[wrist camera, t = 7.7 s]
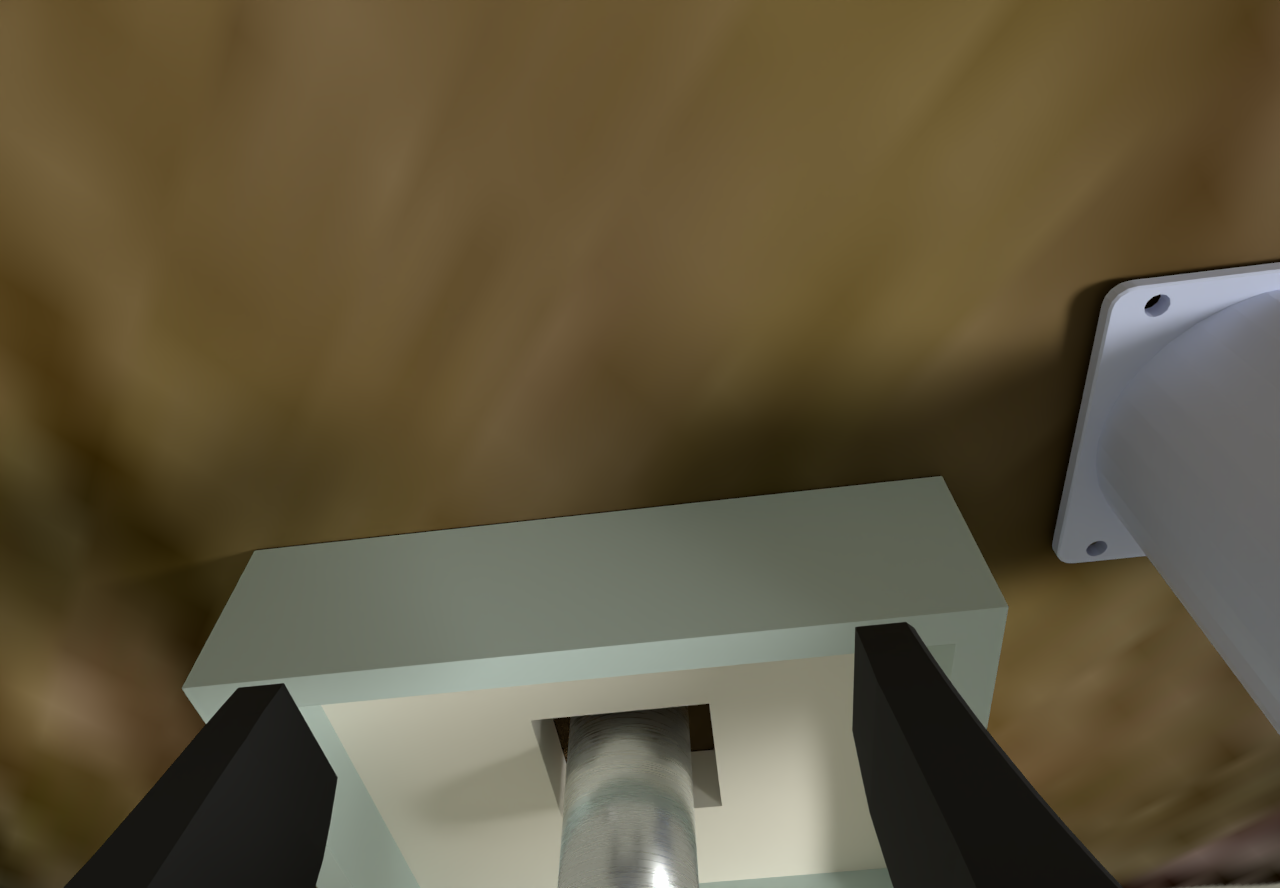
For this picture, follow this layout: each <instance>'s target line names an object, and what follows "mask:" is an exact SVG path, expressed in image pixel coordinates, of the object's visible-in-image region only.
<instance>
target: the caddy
mask: <svg viewBox="0 0 1280 888" xmlns="http://www.w3.org/2000/svg"><path fill="white" fill-rule="evenodd" d="M1007 612H1008V605H1007V603H1006V601H1005V599H1004V597H1003V595H1002V593H1001V591H1000V589H999V587H998V585H997V583H996V581H995V579H994V577H993V575H992V573H991V571H990V569H989V567H988V565H987V564H986V562H985V560H984V558H983V556H982V554H981V552H980V550H979V548H978V546H977V544H976V542H975V540H974V538H973V536H972V534H971V532H970V530H969V528H968V526H967V524H966V522H965V520H964V518H963V516H962V514H961V512H960V511H959V509H958V507H957V505H956V503H955V501H954V499H953V497H952V495H951V493H950V491H949V489H948V487H947V485H946V483H945V481H944V479H943V477H942V476H937V477H927V478H918V479H909V480H900V481H891V482H881V483H872V484H863V485H854V486H845V487H835V488H826V489H817V490H808V491H799V492H789V493H780V494H771V495H762V496H753V497H743V498H734V499H725V500H716V501H707V502H697V503H688V504H679V505H670V506H660V507H651V508H642V509H633V510H624V511H614V512H605V513H596V514H587V515H578V516H568V517H559V518H550V519H541V520H532V521H522V522H513V523H504V524H495V525H486V526H476V527H467V528H458V529H449V530H440V531H430V532H421V533H412V534H403V535H394V536H384V537H375V538H366V539H357V540H348V541H338V542H329V543H320V544H311V545H301V546H292V547H283V548H274V549H265V550H255V551H254V553H253V555H252V557H251V558H250V560H249V562H248V564H247V566H246V568H245V570H244V572H243V574H242V575H241V577H240V579H239V581H238V583H237V585H236V587H235V589H234V591H233V592H232V594H231V596H230V598H229V600H228V602H227V604H226V606H225V607H224V609H223V611H222V613H221V615H220V617H219V619H218V621H217V623H216V624H215V626H214V628H213V630H212V632H211V634H210V636H209V638H208V640H207V641H206V643H205V645H204V647H203V649H202V651H201V653H200V655H199V657H198V658H197V660H196V662H195V664H194V666H193V668H192V670H191V672H190V674H189V675H188V677H187V679H186V681H185V683H184V685H183V687H182V690H183V691H184V693H185V694H186V696H187V697H188V699H189V700H190V701H191V703H192V704H193V706H194V707H195V709H196V710H197V712H198V713H199V715H200V716H201V718H202V719H203V721H204V722H205V723H206V724H207V723H208V721H209V720H210V719H211V718H212V717H213V716H214V714H215V713H216V712H217V711H218V710H219V709H220V707H221V706H222V705H223V704H224V703H225V702H226V701H227V700H228V698H229V697H230V696H231V695H232V694H233V693H234V692H235V691H236V689H237V688H240V687H250V686H260V685H270V684H280V683H284V684H285V686H286V688H287V689H288V691H289V693H290V695H291V696H292V698H293V700H294V702H295V703H296V705H297V707H298V709H299V710H300V712H301V714H302V716H303V717H304V719H305V721H306V723H307V724H308V726H309V728H310V730H311V731H312V733H313V735H314V737H315V738H316V740H317V742H318V744H319V745H320V747H321V749H322V751H323V752H324V754H325V756H326V758H327V759H328V761H329V763H330V765H331V766H332V768H333V770H334V772H335V773H336V775H337V777H338V780H337V786H336V792H335V798H334V804H333V810H332V816H331V822H330V828H329V833H328V838H327V843H326V848H325V853H324V858H323V862H322V866H321V869H320V873H319V876H318V879H317V883H316V886H317V888H558V876H559V862H560V849H561V836H562V822H563V809H564V796H565V782H566V769H567V763H566V761H565V757H564V754H563V751H562V747H561V744H560V741H559V737H558V734H557V731H556V727H555V724H554V721H553V718H561V717H572V716H582V715H593V714H604V713H614V712H625V711H636V710H646V709H657V708H668V707H678V706H689V705H699V704H709V706H710V714H711V722H712V730H713V738H714V746H715V750H706V751H695V752H691V763H692V779H693V796H694V812H695V829H696V846H697V862H698V879H699V888H893V885H892V882H891V879H890V876H889V872H888V869H887V866H886V863H885V860H884V857H883V854H882V850H881V847H880V844H879V841H878V838H877V835H876V832H875V828H874V825H873V822H872V819H871V816H870V812H869V807H868V803H867V798H866V794H865V789H864V784H863V780H862V775H861V771H860V766H859V761H858V756H857V751H856V746H855V742H854V737H853V732H852V722H853V687H854V653H855V627H859V626H869V625H879V624H889V623H899V622H907V623H908V624H910V625H911V626H913V627H914V628H915V630H916V631H917V633H918V634H919V636H920V637H921V639H922V641H923V642H924V644H925V645H926V647H927V648H928V650H929V651H930V653H931V654H932V656H933V657H934V659H935V660H936V661H937V663H938V664H939V666H940V667H941V669H942V670H943V672H944V673H945V674H946V676H947V677H948V679H949V680H950V681H951V683H952V684H953V686H954V687H955V688H956V690H957V691H958V692H959V694H960V695H961V696H962V698H963V699H964V700H965V702H966V703H967V704H968V706H969V707H970V709H971V710H972V711H973V713H974V714H975V715H976V717H977V718H978V719H979V721H980V722H981V723H982V724H983V726H984V727H985V728H986V730H987V725H988V719H989V714H990V708H991V702H992V697H993V691H994V686H995V680H996V674H997V669H998V663H999V657H1000V652H1001V646H1002V640H1003V635H1004V629H1005V624H1006V618H1007Z"/></svg>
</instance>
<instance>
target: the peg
mask: <svg viewBox="0 0 1280 888" xmlns="http://www.w3.org/2000/svg"><path fill="white" fill-rule="evenodd" d="M558 888H699V879H698V862H697V846H696V829H695V812H694V796H693V779H692V763H691V746H690V730H689V713H688V706H678V707H668V708H657V709H646V710H636V711H625V712H614V713H604V714H593V715H582V716H572V717H570V729H569V742H568V756H567V769H566V782H565V796H564V809H563V822H562V836H561V849H560V862H559V876H558Z"/></svg>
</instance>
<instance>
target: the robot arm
mask: <svg viewBox="0 0 1280 888" xmlns="http://www.w3.org/2000/svg"><path fill="white" fill-rule="evenodd" d="M1160 294H1161V297H1160V298H1159V300H1158V302H1157V303H1156V304H1155V305H1153V306H1152V307H1150V308H1147V309H1144V307H1145V305H1146V303H1147V302H1148V301H1149V300H1150V299H1151V298H1152V297H1154V296H1157V295H1160ZM1097 541H1098V542H1097ZM1093 542H1096V543H1095V544H1093V545H1090V544H1092V543H1093ZM1089 545H1090V546H1089ZM1052 549H1053V550H1054V552H1055V554H1056V555H1057V557H1058V558H1059V559H1060V561H1063V562H1065V563H1081V562H1091V561H1100V560H1110V559H1120V558H1130V557H1140V556H1147V557H1148V559H1149V560H1150V561H1151V563H1152V564H1153V565H1154V567H1155V568H1156V569H1157V571H1158V572H1159V573H1160V575H1161V576H1162V577H1163V579H1164V580H1165V581H1166V583H1167V584H1168V585H1169V587H1170V588H1171V589H1172V591H1173V592H1174V594H1175V595H1176V596H1177V598H1178V599H1179V600H1180V602H1181V603H1182V604H1183V606H1184V607H1185V608H1186V610H1187V611H1188V612H1189V614H1190V615H1191V616H1192V618H1193V619H1194V620H1195V622H1196V623H1197V625H1198V626H1199V627H1200V629H1201V630H1202V631H1203V633H1204V634H1205V635H1206V637H1207V638H1208V639H1209V641H1210V642H1211V643H1212V645H1213V646H1214V647H1215V649H1216V650H1217V651H1218V653H1219V654H1220V655H1221V657H1222V658H1223V660H1224V661H1225V662H1226V664H1227V665H1228V666H1229V668H1230V669H1231V670H1232V672H1233V673H1234V674H1235V676H1236V677H1237V678H1238V680H1239V681H1240V682H1241V684H1242V685H1243V686H1244V688H1245V689H1246V690H1247V692H1248V693H1249V695H1250V696H1251V697H1252V699H1253V700H1254V701H1255V703H1256V704H1257V705H1258V707H1259V708H1260V709H1261V711H1262V712H1263V713H1264V715H1265V716H1266V717H1267V719H1268V720H1269V721H1270V723H1271V724H1272V725H1273V727H1274V728H1275V730H1276V731H1277V732H1278V734H1279V735H1280V262H1278V263H1269V264H1261V265H1253V266H1244V267H1236V268H1228V269H1220V270H1211V271H1203V272H1195V273H1187V274H1178V275H1170V276H1162V277H1153V278H1145V279H1137V280H1130V281H1126V282H1123V283H1120V284H1118V285H1117V286H1115V287H1114V288H1112V289H1111V290H1110V291H1109V292H1108V294H1107V295H1106V296H1105V298H1104V300H1103V303H1102V305H1101V310H1100V315H1099V320H1098V325H1097V330H1096V334H1095V339H1094V344H1093V349H1092V354H1091V359H1090V363H1089V368H1088V373H1087V378H1086V383H1085V387H1084V392H1083V397H1082V402H1081V407H1080V412H1079V416H1078V421H1077V426H1076V431H1075V436H1074V441H1073V445H1072V450H1071V455H1070V460H1069V465H1068V469H1067V474H1066V479H1065V484H1064V489H1063V494H1062V498H1061V503H1060V508H1059V513H1058V518H1057V523H1056V527H1055V532H1054V537H1053V542H1052ZM852 732H853V737H854V742H855V746H856V751H857V756H858V761H859V766H860V771H861V775H862V780H863V784H864V789H865V794H866V798H867V803H868V807H869V812H870V816H871V819H872V822H873V825H874V828H875V832H876V835H877V838H878V841H879V844H880V847H881V850H882V854H883V857H884V860H885V863H886V866H887V869H888V872H889V876H890V879H891V882H892V885H893V888H1123V887H1122V886H1121V885H1120V884H1119V883H1118V882H1117V881H1116V880H1115V878H1114V877H1113V876H1112V875H1111V874H1110V873H1109V872H1108V871H1107V870H1106V869H1105V868H1104V867H1103V866H1102V865H1101V864H1100V862H1099V861H1098V860H1097V859H1096V858H1095V857H1094V856H1093V855H1092V854H1091V852H1090V851H1089V850H1088V849H1087V848H1086V847H1085V846H1084V845H1083V844H1082V842H1081V841H1080V840H1079V839H1078V838H1077V837H1076V836H1075V835H1074V834H1073V833H1072V831H1071V830H1070V829H1069V828H1068V827H1067V826H1066V825H1065V824H1064V823H1063V821H1062V820H1061V819H1060V818H1059V817H1058V816H1057V814H1056V813H1055V812H1054V811H1053V810H1052V809H1051V807H1050V806H1049V805H1048V804H1047V803H1046V802H1045V801H1044V799H1043V798H1042V797H1041V796H1040V795H1039V794H1038V792H1037V791H1036V790H1035V789H1034V788H1033V786H1032V785H1031V784H1030V783H1029V781H1028V780H1027V779H1026V778H1025V777H1024V775H1023V774H1022V773H1021V772H1020V770H1019V769H1018V768H1017V767H1016V766H1015V764H1014V763H1013V762H1012V761H1011V759H1010V758H1009V757H1008V756H1007V755H1006V753H1005V752H1004V751H1003V750H1002V748H1001V747H1000V746H999V745H998V744H997V742H996V741H995V740H994V738H993V737H992V736H991V735H990V733H989V732H988V731H987V730H986V728H985V727H984V726H983V724H982V723H981V722H980V721H979V719H978V718H977V717H976V715H975V714H974V713H973V711H972V710H971V709H970V707H969V706H968V704H967V703H966V702H965V700H964V699H963V698H962V696H961V695H960V694H959V692H958V691H957V690H956V688H955V687H954V686H953V684H952V683H951V681H950V680H949V679H948V677H947V676H946V674H945V673H944V672H943V670H942V669H941V667H940V666H939V664H938V663H937V661H936V660H935V659H934V657H933V656H932V654H931V653H930V651H929V650H928V648H927V647H926V645H925V644H924V642H923V641H922V639H921V637H920V636H919V634H918V633H917V631H916V630H915V628H914V627H913V626H911V625H910V624H908V623H907V622H899V623H889V624H879V625H869V626H859V627H855V653H854V687H853V722H852ZM337 780H338V777H337V775H336V773H335V772H334V770H333V768H332V766H331V765H330V763H329V761H328V759H327V758H326V756H325V754H324V752H323V751H322V749H321V747H320V745H319V744H318V742H317V740H316V738H315V737H314V735H313V733H312V731H311V730H310V728H309V726H308V724H307V723H306V721H305V719H304V717H303V716H302V714H301V712H300V710H299V709H298V707H297V705H296V703H295V702H294V700H293V698H292V696H291V695H290V693H289V691H288V689H287V688H286V686H285V684H284V683H280V684H270V685H260V686H250V687H240V688H237V689H236V691H235V692H234V693H233V694H232V695H231V696H230V697H229V698H228V700H227V701H226V702H225V703H224V704H223V705H222V706H221V707H220V709H219V710H218V711H217V712H216V713H215V714H214V716H213V717H212V718H211V719H210V720H209V721H208V723H207V724H206V725H205V726H204V727H203V729H202V730H201V731H200V732H199V733H198V734H197V736H196V737H195V738H194V739H193V740H192V742H191V743H190V744H189V745H188V746H187V747H186V749H185V750H184V751H183V752H182V753H181V755H180V756H179V757H178V758H177V759H176V760H175V762H174V763H173V764H172V765H171V766H170V768H169V769H168V770H167V771H166V772H165V773H164V775H163V776H162V777H161V778H160V779H159V780H158V782H157V783H156V784H155V785H154V786H153V788H152V789H151V790H150V791H149V792H148V793H147V794H146V796H145V797H144V798H143V799H142V800H141V801H140V802H139V804H138V805H137V806H136V807H135V808H134V809H133V811H132V812H131V813H130V814H129V815H128V816H127V817H126V819H125V820H124V821H123V822H122V823H121V824H120V826H119V827H118V828H117V829H116V830H115V831H114V832H113V834H112V835H111V836H110V837H109V838H108V839H107V840H106V842H105V843H104V844H103V845H102V846H101V847H100V849H99V850H98V851H97V852H96V853H95V854H94V855H93V856H92V858H91V859H90V860H89V861H88V862H87V863H86V864H85V865H84V866H83V867H82V868H81V869H80V870H79V872H78V873H77V874H76V875H75V876H74V877H73V878H72V879H71V880H70V881H69V882H68V883H67V884H66V886H65V887H64V888H315V886H316V883H317V879H318V876H319V873H320V869H321V866H322V862H323V858H324V853H325V848H326V843H327V838H328V833H329V828H330V822H331V816H332V810H333V804H334V798H335V792H336V786H337Z"/></svg>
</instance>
